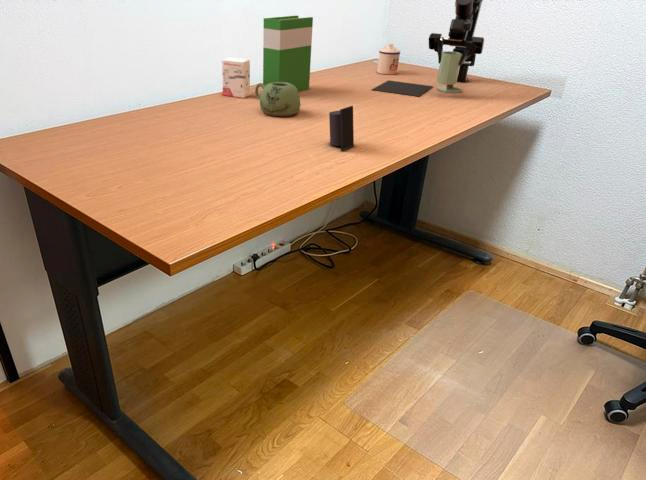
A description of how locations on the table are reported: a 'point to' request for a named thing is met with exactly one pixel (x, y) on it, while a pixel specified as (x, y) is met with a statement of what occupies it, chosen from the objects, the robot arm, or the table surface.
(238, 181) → the table surface
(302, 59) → the hardback book
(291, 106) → the mug
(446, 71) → the canister
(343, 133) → the speaker
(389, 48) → the teacup with lid
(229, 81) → the ink box
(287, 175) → the table surface
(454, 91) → the lid
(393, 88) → the mat
